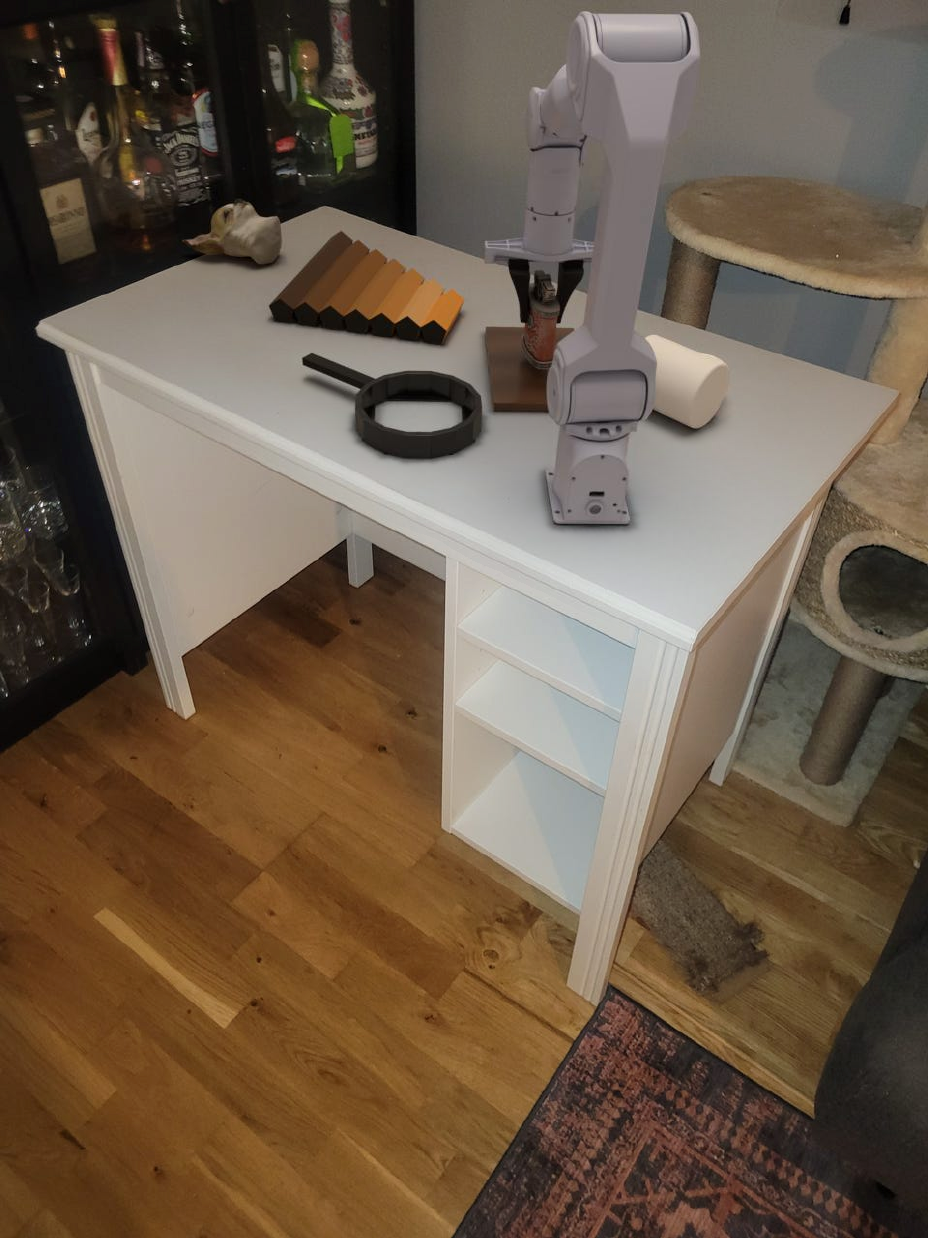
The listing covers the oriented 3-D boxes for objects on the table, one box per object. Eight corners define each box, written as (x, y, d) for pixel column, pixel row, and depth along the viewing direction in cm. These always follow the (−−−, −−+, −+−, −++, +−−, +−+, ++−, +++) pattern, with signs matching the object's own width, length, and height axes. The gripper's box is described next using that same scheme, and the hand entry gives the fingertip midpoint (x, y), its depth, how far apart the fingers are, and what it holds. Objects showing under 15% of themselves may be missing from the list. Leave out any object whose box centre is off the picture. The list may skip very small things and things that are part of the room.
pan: (483, 458, 107) (484, 435, 105) (289, 457, 106) (287, 433, 104) (476, 376, 121) (477, 354, 119) (305, 374, 120) (303, 352, 118)
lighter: (516, 339, 123) (522, 263, 116) (542, 337, 123) (549, 261, 117) (532, 369, 117) (539, 291, 110) (559, 368, 118) (567, 289, 111)
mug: (684, 439, 112) (698, 377, 106) (616, 406, 116) (626, 346, 111) (739, 403, 118) (755, 343, 113) (673, 374, 123) (685, 315, 118)
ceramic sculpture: (253, 216, 134) (171, 202, 140) (262, 277, 140) (183, 261, 145) (297, 194, 141) (217, 182, 147) (304, 253, 147) (227, 239, 152)
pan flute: (331, 251, 148) (270, 320, 130) (330, 229, 146) (267, 296, 128) (487, 271, 144) (446, 345, 127) (488, 249, 142) (446, 321, 124)
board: (592, 412, 115) (593, 403, 114) (493, 411, 115) (493, 402, 114) (572, 335, 130) (573, 327, 129) (485, 334, 129) (485, 326, 129)
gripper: (608, 195, 112) (594, 306, 121) (485, 192, 111) (480, 304, 120) (618, 217, 106) (602, 331, 116) (488, 215, 106) (482, 330, 115)
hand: (540, 319), depth 118 cm, fingers closed on lighter, 3 cm apart
